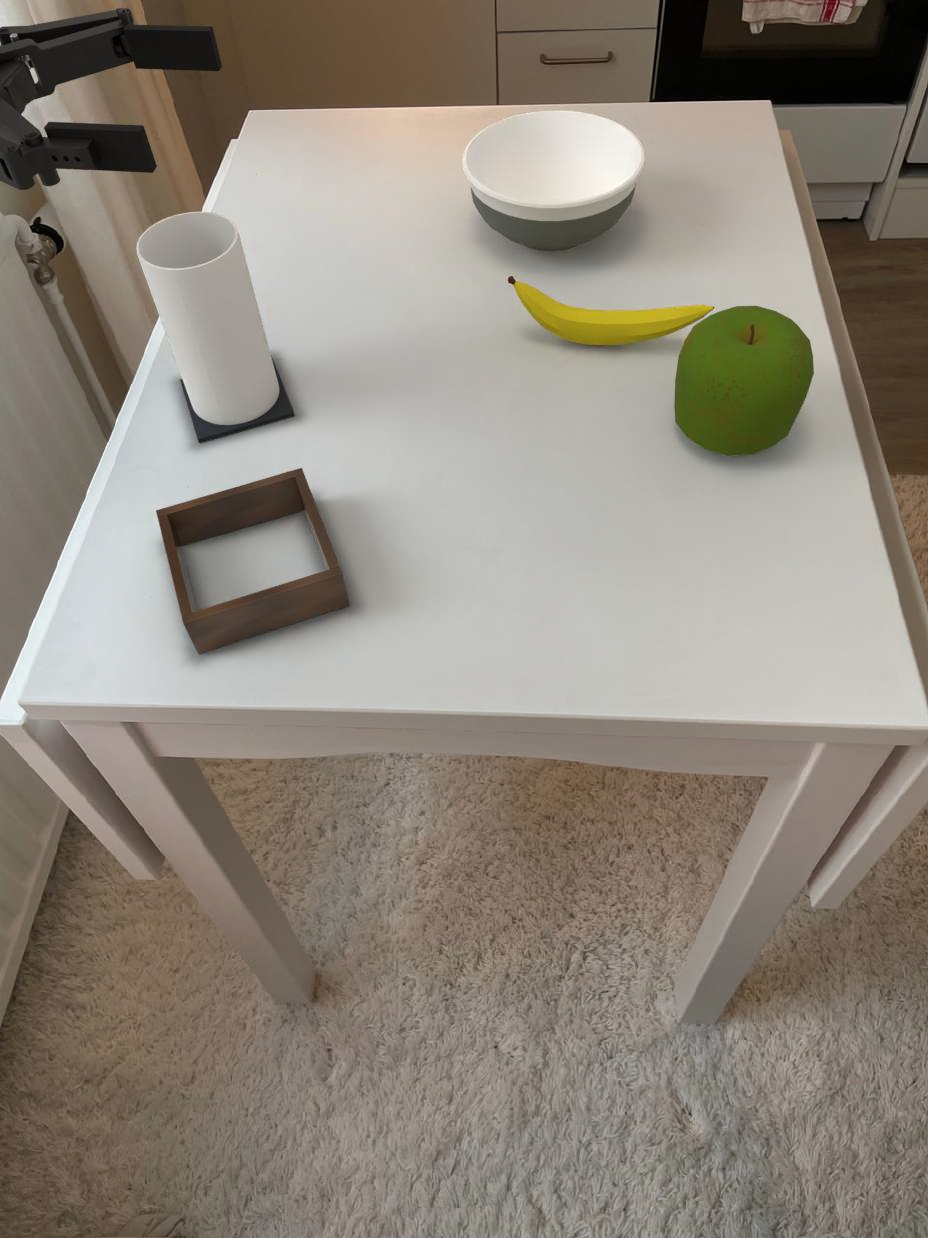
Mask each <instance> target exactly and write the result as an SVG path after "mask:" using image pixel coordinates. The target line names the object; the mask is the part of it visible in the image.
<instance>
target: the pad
mask: <svg viewBox="0 0 928 1238" xmlns="http://www.w3.org/2000/svg"><path fill="white" fill-rule="evenodd" d="M271 357H272V361H273V365H274V369H275V373H276V376H277V380H278V384H279V395H278V398H277V400H276V402H275V404H274V405H273V406H272V407H271V408H270V409H269V410H268V411H267V412H266V413H264V414H263V415H261V416H260V417H258V418H256V419H254V420H251V421H248V422H245V423H241V424H235V425H219V424H214V423H210V422H207V421H205V420H203V419H202V418H200V417H199V416H198V415H197V414H196V413H195V411H194V409H193V407H192V404H191V402H190V399H189V396H188V393H187V391H186V388H185V385H184V382H183V380H182V378H179V381H180V385H181V388H182V392H183V395H184V398H185V401H186V405H187V408H188V411H189V415H190V418H191V422H192V425H193V429H194V432H195V435H196V439H197V441H198V444H202V443H205V442H208V441H212V440H215V439H220V438H222V437H226V436H230V435H233V434H236V433H240V432H243V431H247V430H250V429H255V428H258V427H261V426H265V425H268V424H271V423H272V424H273V423H276V422H279V421H282V420H286V419H289V418H293V417H295V416H296V414H295V411H294V408H293V406H292V404H291V400H290V398H289V396H288V394H287V391H286V389H285V386H284V384H283V381H282V378H281V376H280V373H279V371H278V368H277V366H276V363H275V360H274V358H273V356H272V355H271Z"/></svg>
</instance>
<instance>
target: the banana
mask: <svg viewBox="0 0 928 1238" xmlns="http://www.w3.org/2000/svg"><path fill="white" fill-rule="evenodd" d="M507 282H508V284H511V285H512V286H513V288H514V291H515V293H516V296H517V298H518V299H519V301H520V302H521V304H522V306H523V307H524V308H525V309H526V311H527V312H528V313H529V314H530V316H531V317H532V318H533V319H534V320H535V321H536V322H537V323H538V324H539V325H540V326H541V327H542V328H544V329H545V330H547V331H548V332H549V333H550V334H553V335H554V336H556V337H558V338H561V339H564V340H567V341H569V342H573V343H577V344H583V345H588V346H589V345H590V346H617V345H627V344H634V343H635V344H636V343H642V342H646V341H653V340H656V339H660V338H663V337H666V336H668V335H671V334H674V333H676V332H678V331H680V330H682V329H685V328H686V327H689V326H691V325H692V324H694V323H696V322H698V321H701V320H702V319H704V318H705V317H706V316H707V315H708V314H709V313H711V312H712V311H714V309H715V306H714V305H707V304H692V305H679V306H678V305H677V306H668V307H659V308H647V309H626V310H625V309H623V310H622V309H619V310H617V309H613V310H612V309H611V310H610V309H592V308H585V307H578V306H577V307H576V306H573V305H567V304H565V303H562V302H560V301H557V300H556V299H554V298H552V297H550V296H548V295H547V294H545V293H543V292H542V291H541V290H539V289H538V288H536V287H534V286H532V285H529V284H528V283H527V282H526V283H525V282H521V281H518V280H516V279H515V278H514V276H513V275H510V276H508V278H507Z"/></svg>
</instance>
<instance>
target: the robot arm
mask: <svg viewBox="0 0 928 1238" xmlns="http://www.w3.org/2000/svg"><path fill="white" fill-rule="evenodd" d="M132 12H133V11H132V10H131V8H129V7H118V8H115V9H113V10H107V11H102V12H96V13H95V12H94V13H92V14H91V13H89V14H85V15H79V16H74V17H68V18H63V19H58V20H52V21H47V22H41V23H40V22H39V23H36V24H29V25H7V26H0V182H2V183H4V184H5V185H8V186H10V187H12V188H15V189H16V190H19V191H27V190H30V189H31V188H33V187H34V186H35V184H36V182H35V179H34V177H35V176H36V175H38V177H39V179H40V181H41V184H42V185H43V186H44V187H53V186H56V185H58V184H59V183H60V182H61V178H60V175H59V172H58V170H76V171H77V170H79V171H104V172H105V171H106V172H125V173H126V172H127V173H143V174H144V173H145V174H146V173H147V174H153V173H154V172H155V171H156V169H157V168H158V165H157V163H156V159H155V156H154V152H153V150H152V147H151V144H150V141H149V137H148V135H147V132H146V129H145V126H144V124H143V125H142V124H141V125H140V124H119V123H117V124H115V123H114V124H113V123H96V122H95V123H94V122H93V123H89V122H71V121H70V122H66V121H65V122H64V121H47V123H46V124H45V125H44V127H43V129H44V132H45V135H46V136H43V134H42V132H41V130H40V129H39V128H38V127H36V126H35V125H34V124H33V123H31V121H29V120H28V119H27V118H26V117H25V116H23V115H22V114H23V113H24V111H25V110H26V107H27V106H28V105H29V104H30V103H31V102H33V101H35V100H39V99H41V98H45V97H48V96H52V95H53V94H54V93H55V90H56V87H57V86H58V85H62V84H65V83H68V82H72V81H74V80H77V79H78V80H79V79H81V78H84V77H88V76H91V75H95V74H98V73H102V72H105V71H107V70H111V69H114V68H119V67H121V66H124V65H127V64H130V63H133V64H134V67H135V69H136V70H163V71H164V70H165V71H199V72H220V71H221V69H222V68H223V63H222V59H221V56H220V51H219V47H218V44H217V40H216V35H215V31H214V27H213V26H212V25H211V26H206V25H205V26H204V25H171V24H170V25H167V24H166V25H165V24H164V25H163V24H136V21H135V18H134V15H133V13H132ZM32 69H34V72H35V74H36V77H37V82H35V80H34V77H33V74H32V72H31V70H32Z"/></svg>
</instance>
